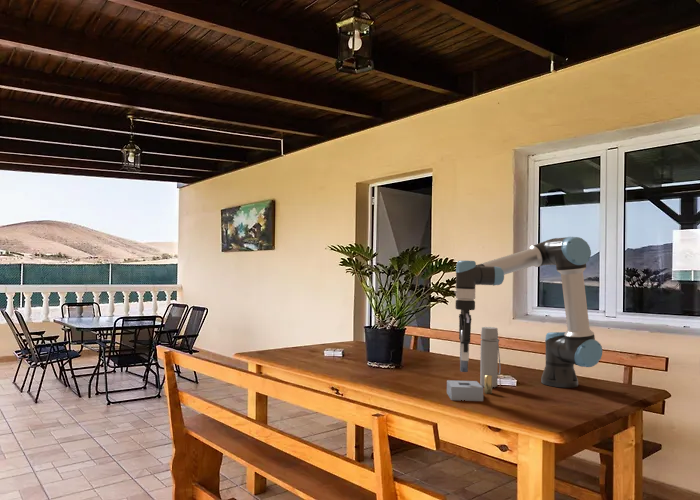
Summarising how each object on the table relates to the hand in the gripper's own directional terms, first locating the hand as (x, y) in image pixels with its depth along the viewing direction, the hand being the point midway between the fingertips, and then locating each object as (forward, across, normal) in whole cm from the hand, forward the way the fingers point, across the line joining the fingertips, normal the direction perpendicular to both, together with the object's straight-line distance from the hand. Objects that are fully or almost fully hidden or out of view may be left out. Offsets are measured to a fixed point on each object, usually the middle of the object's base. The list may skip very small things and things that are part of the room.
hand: (464, 359), depth 204 cm
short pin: (+14, -8, +11) cm, 20 cm away
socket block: (+14, 0, 0) cm, 14 cm away
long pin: (+5, 0, 0) cm, 5 cm away
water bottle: (+15, -21, +15) cm, 30 cm away
